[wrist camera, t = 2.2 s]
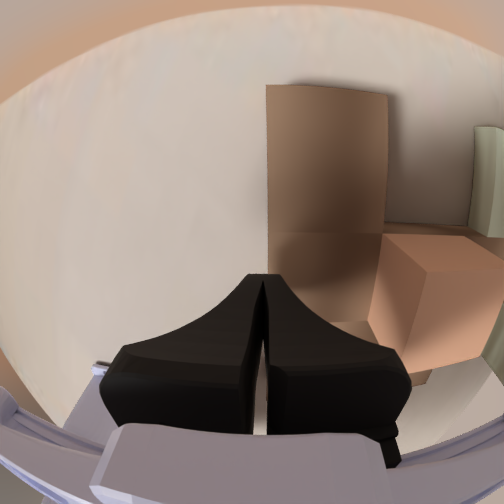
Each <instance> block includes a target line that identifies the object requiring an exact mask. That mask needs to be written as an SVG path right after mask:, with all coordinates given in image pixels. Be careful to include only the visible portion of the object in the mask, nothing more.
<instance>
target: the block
mask: <svg viewBox="0 0 504 504" xmlns="http://www.w3.org/2000/svg"><path fill="white" fill-rule="evenodd" d="M503 301H504V261H503V260H502V259H500V258H499V257H497V256H496V255H494V254H493V253H491V252H489V251H488V250H486V249H485V248H483V247H481V246H480V245H478V244H477V243H475V242H473V241H472V240H470V239H468V238H467V237H465V236H450V235H420V234H382V242H381V249H380V256H379V263H378V269H377V275H376V281H375V286H374V291H373V297H372V302H371V306H370V311H369V316H368V320H367V321H368V323H369V325H370V327H371V329H372V331H373V333H374V335H375V337H376V339H377V341H378V343H379V345H382V346H385V347H389V348H392V349H395V351H396V352H397V354H398V356H399V357H400V359H401V360H402V362H403V364H404V366H405V368H406V370H407V372H408V374H409V373H414V372H419V371H424V370H429V369H434V368H438V367H442V366H447V365H451V364H455V363H458V362H462V361H466V360H469V359H473V358H476V357H480V355H481V353H482V351H483V349H484V347H485V344H486V342H487V340H488V338H489V336H490V334H491V331H492V329H493V327H494V324H495V322H496V319H497V317H498V314H499V312H500V309H501V306H502V304H503Z"/></svg>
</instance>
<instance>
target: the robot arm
mask: <svg viewBox="0 0 504 504" xmlns="http://www.w3.org/2000/svg"><path fill="white" fill-rule="evenodd" d="M263 341H264V352H265V363H266V374H267V388H268V397H267V435H253V428H254V408H255V390H256V381H257V375H258V369H259V362H260V356H261V350H262V343H263ZM91 370H92V372H93V374H94V376H93V378H92V380H91V381H90V383H89V384H88V386H87V387H86V389H85V391H84V392H83V394H82V395H81V397H80V399H79V400H78V402H77V404H76V405H75V407H74V409H73V410H72V412H71V414H70V415H69V417H68V419H67V420H66V422H65V424H64V426H63V429H62V428H60V427H58V426H56V425H53V424H51V423H49V422H47V421H45V420H43V419H41V418H39V417H37V416H35V415H33V414H31V413H29V412H28V411H26V410H24V409H22V408H21V407H19V406H18V404H17V402H16V401H15V399H14V398H13V397H12V395H11V394H10V393H9V392H8V391H7V390H6V389H4V388H3V387H2V386H0V463H1V464H2V465H3V466H5V467H6V468H7V469H8V470H10V471H11V472H12V473H13V474H15V475H16V476H17V477H19V478H20V479H22V480H23V481H24V482H26V483H27V484H29V485H30V486H31V487H33V488H34V489H36V490H37V491H39V492H40V493H42V494H44V495H45V496H44V498H43V501H42V503H41V504H475V503H477V502H478V501H480V500H481V499H483V498H485V497H486V496H488V495H489V494H491V493H493V492H494V491H496V490H497V489H498V488H500V487H501V486H503V485H504V413H503V415H502V416H500V417H498V418H496V419H494V420H492V421H490V422H488V423H486V424H484V425H482V426H480V427H478V428H476V429H474V430H472V431H469V432H467V433H465V434H462V435H460V436H457V437H455V438H452V439H450V440H447V441H444V442H441V443H439V444H436V445H433V446H430V447H427V448H424V449H421V450H417V451H414V452H410V453H407V454H403V455H400V452H399V449H398V446H397V442H396V439H395V437H397V436H398V432H399V431H398V428H397V425H396V422H395V421H396V419H397V418H398V416H399V414H400V413H401V411H402V409H403V407H404V406H405V404H406V402H407V400H408V398H409V396H410V393H411V390H412V381H411V379H410V376H409V374H408V372H407V370H406V368H405V366H404V364H403V362H402V360H401V359H400V357H399V356H398V354H397V352H396V351H395V349H392V348H389V347H385V346H382V345H379V344H375V343H372V342H369V341H366V340H363V339H361V338H358V337H356V336H353V335H351V334H349V333H347V332H345V331H343V330H341V329H339V328H337V327H336V326H334V325H332V324H330V323H329V322H327V321H325V320H324V319H322V318H321V317H320V316H318V315H317V314H316V313H314V312H313V311H312V310H311V309H309V308H308V307H307V306H306V305H305V304H304V303H303V302H302V301H301V300H300V299H299V298H298V297H297V296H296V295H295V293H294V292H293V291H292V290H291V289H290V287H289V286H288V285H287V283H286V282H285V281H284V279H283V277H282V276H281V275H280V274H247V275H246V276H245V277H244V279H243V280H242V281H241V282H240V283H239V285H238V286H237V287H236V288H235V289H234V290H233V291H232V292H231V293H230V294H229V295H228V296H227V297H226V298H225V299H224V300H223V301H222V302H221V303H219V304H218V305H217V306H216V307H215V308H213V309H212V310H211V311H209V312H208V313H206V314H205V315H203V316H202V317H200V318H198V319H196V320H195V321H193V322H191V323H189V324H187V325H185V326H183V327H181V328H179V329H177V330H174V331H172V332H169V333H167V334H164V335H161V336H158V337H155V338H152V339H149V340H145V341H141V342H137V343H133V344H129V345H124V346H123V347H122V348H121V349H120V351H119V352H118V354H117V355H116V357H115V358H114V360H113V362H112V363H111V365H110V367H107V366H103V365H98V364H93V365H92V367H91Z"/></svg>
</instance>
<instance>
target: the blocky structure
mask: <svg viewBox="0 0 504 504" xmlns="http://www.w3.org/2000/svg"><path fill="white" fill-rule="evenodd" d="M266 111H267V169H268V274H280V275H281V276H282V277H283V279H284V281H285V282H286V283H287V285H288V286H289V287H290V289H291V290H292V291H293V292H294V293H295V295H296V296H297V297H298V298H299V299H300V300H301V301H302V302H303V303H304V304H305V305H306V306H307V307H308V308H309V309H311V310H312V311H313V312H314V313H316V314H317V315H318V316H320V317H321V318H322V319H324V320H325V321H327V322H329V323H330V324H332V325H334V326H336V327H337V328H339V329H341V330H343V331H345V332H347V333H349V334H351V335H353V336H356V337H358V338H361V339H363V340H366V341H369V342H372V343H375V344H379V343H378V341H377V339H376V337H375V335H374V333H373V331H372V329H371V327H370V325H369V323H368V321H367V320H368V316H369V311H370V306H371V302H372V297H373V291H374V286H375V281H376V275H377V269H378V263H379V256H380V249H381V242H382V234H420V235H450V236H465V237H467V238H468V239H470V240H472V241H473V242H475V243H477V244H478V245H480V246H481V247H483V248H485V249H486V250H488V251H489V252H491V253H493V254H494V255H496V256H497V257H499V258H500V259H502V260H503V261H504V130H502V129H500V128H497V127H474V130H475V152H474V175H473V187H472V197H471V206H470V213H469V220H468V226H454V225H437V224H418V223H395V222H384V216H385V205H386V192H387V175H388V99H387V95H383V94H377V93H371V92H365V91H358V90H350V89H341V88H331V87H319V86H302V85H266ZM481 355H482V357H483V358H484V359H485V361H486V362H487V363H488V365H489V366H490V367H491V369H492V370H493V371H494V373H495V374H496V376H497V377H498V378H499V380H500V381H501V383H502V384H503V386H504V301H503V304H502V306H501V309H500V312H499V314H498V317H497V319H496V322H495V324H494V327H493V329H492V331H491V334H490V336H489V338H488V340H487V342H486V344H485V347H484V349H483V351H482V353H481ZM431 371H432V369H429V370H424V371H419V372H414V373H409V376H410V379H411V381H412V387H413V386H417V385H422V384H425V383H426V381H427V379H428V377H429V375H430V373H431ZM267 397H268V388H267V389H266V401H267Z"/></svg>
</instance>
